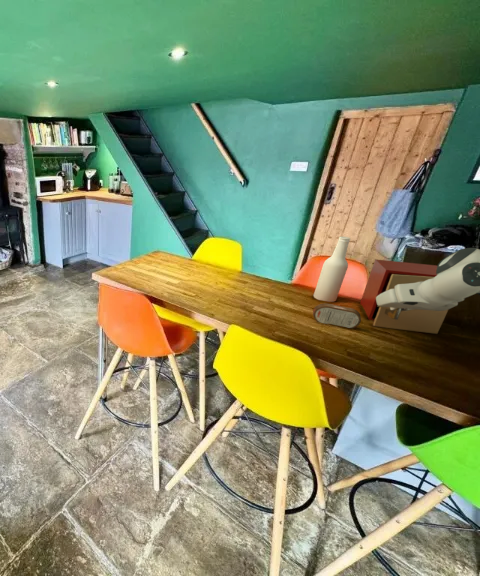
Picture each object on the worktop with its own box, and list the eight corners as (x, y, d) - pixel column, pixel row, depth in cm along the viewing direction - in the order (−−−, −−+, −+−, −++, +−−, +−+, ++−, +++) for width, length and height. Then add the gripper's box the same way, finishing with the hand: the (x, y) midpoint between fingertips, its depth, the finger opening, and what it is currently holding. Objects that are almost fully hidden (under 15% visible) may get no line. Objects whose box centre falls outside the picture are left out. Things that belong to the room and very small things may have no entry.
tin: (355, 329, 117) (363, 309, 114) (357, 332, 115) (365, 312, 111) (310, 319, 124) (316, 300, 121) (310, 322, 122) (316, 303, 118)
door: (448, 341, 108) (476, 284, 100) (381, 333, 113) (403, 279, 105) (435, 332, 114) (460, 278, 106) (372, 325, 119) (391, 274, 111)
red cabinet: (435, 332, 114) (460, 278, 106) (367, 320, 123) (386, 269, 115) (419, 315, 127) (440, 265, 119) (359, 306, 136) (375, 259, 128)
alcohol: (310, 299, 143) (330, 237, 132) (315, 294, 148) (335, 234, 137) (332, 305, 137) (355, 240, 125) (337, 300, 142) (359, 237, 131)
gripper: (466, 288, 96) (428, 302, 109) (391, 283, 100) (364, 298, 113) (472, 306, 94) (433, 319, 107) (396, 301, 98) (367, 314, 110)
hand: (397, 308), depth 110 cm, fingers closed on door, 2 cm apart
